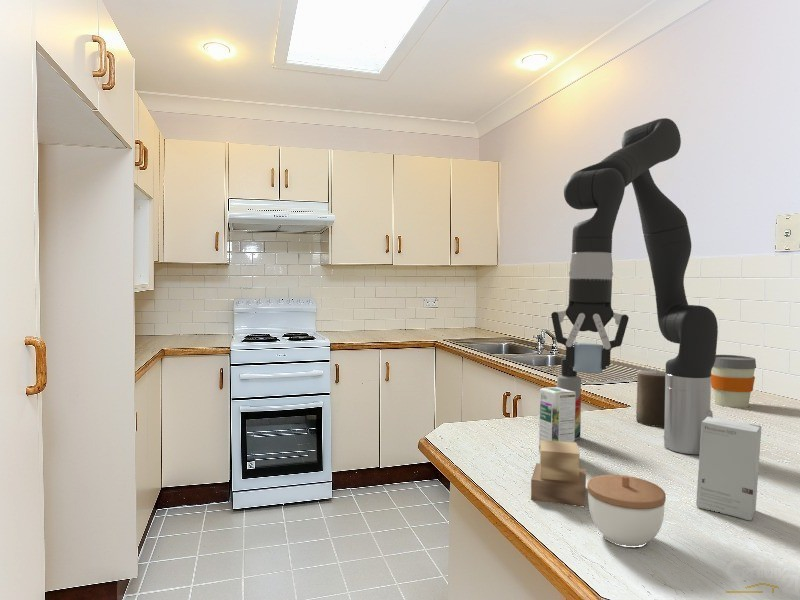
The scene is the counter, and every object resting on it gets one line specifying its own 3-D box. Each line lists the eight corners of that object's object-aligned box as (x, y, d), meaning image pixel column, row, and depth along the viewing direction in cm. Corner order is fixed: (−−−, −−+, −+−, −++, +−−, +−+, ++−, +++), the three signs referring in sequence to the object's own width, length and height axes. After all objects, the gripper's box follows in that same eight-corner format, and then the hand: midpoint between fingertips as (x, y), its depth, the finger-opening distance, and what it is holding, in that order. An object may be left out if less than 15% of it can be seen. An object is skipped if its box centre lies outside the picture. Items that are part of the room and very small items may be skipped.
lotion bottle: (581, 441, 126) (583, 359, 126) (557, 439, 128) (558, 358, 127) (578, 434, 132) (579, 355, 131) (555, 433, 133) (556, 355, 132)
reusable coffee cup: (754, 403, 167) (755, 356, 167) (756, 411, 157) (757, 361, 156) (709, 398, 174) (709, 353, 174) (707, 405, 163) (708, 358, 163)
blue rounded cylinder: (602, 370, 100) (603, 344, 100) (602, 374, 95) (603, 346, 95) (573, 368, 102) (574, 342, 102) (572, 371, 97) (573, 345, 97)
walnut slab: (585, 490, 98) (585, 468, 98) (585, 509, 89) (585, 486, 89) (536, 483, 101) (536, 463, 101) (531, 501, 92) (531, 479, 92)
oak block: (576, 469, 97) (576, 442, 97) (579, 482, 91) (579, 453, 91) (539, 466, 99) (540, 440, 99) (540, 478, 93) (540, 450, 93)
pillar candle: (666, 429, 137) (668, 372, 137) (629, 421, 144) (631, 367, 144) (681, 423, 143) (682, 368, 143) (645, 416, 151) (646, 364, 150)
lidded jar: (585, 548, 75) (586, 484, 75) (587, 517, 85) (588, 460, 85) (669, 563, 72) (670, 495, 71) (660, 528, 82) (661, 469, 81)
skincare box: (695, 508, 89) (697, 421, 89) (703, 497, 94) (704, 414, 93) (755, 522, 84) (757, 430, 83) (759, 510, 88) (761, 422, 88)
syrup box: (537, 451, 119) (538, 388, 118) (558, 448, 121) (559, 386, 121) (554, 459, 114) (555, 392, 113) (575, 455, 116) (576, 390, 115)
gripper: (631, 278, 99) (627, 368, 99) (552, 277, 104) (549, 362, 105) (633, 277, 92) (629, 373, 92) (549, 276, 97) (546, 367, 98)
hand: (587, 367), depth 99 cm, fingers closed on blue rounded cylinder, 5 cm apart
